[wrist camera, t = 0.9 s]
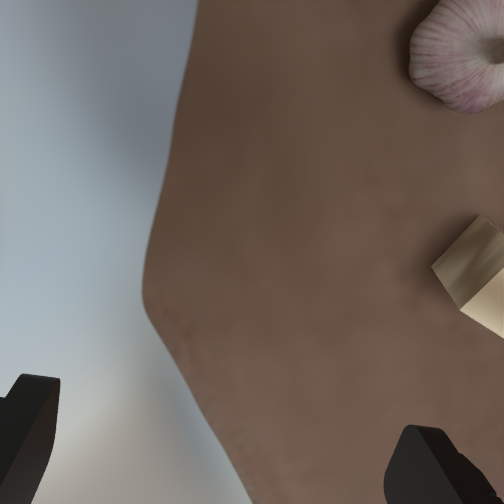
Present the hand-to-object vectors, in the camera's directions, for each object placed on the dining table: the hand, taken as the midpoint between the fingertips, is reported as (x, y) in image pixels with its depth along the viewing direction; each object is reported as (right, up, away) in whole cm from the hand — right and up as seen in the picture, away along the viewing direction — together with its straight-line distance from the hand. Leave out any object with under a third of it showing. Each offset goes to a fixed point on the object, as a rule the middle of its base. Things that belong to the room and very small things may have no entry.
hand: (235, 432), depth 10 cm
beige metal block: (+17, +4, +23) cm, 29 cm away
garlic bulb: (+13, +17, +17) cm, 27 cm away
